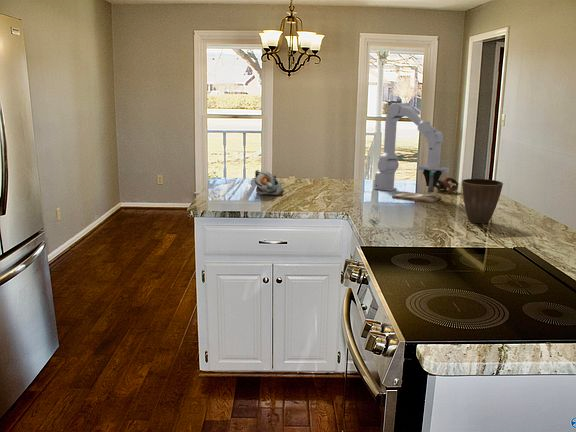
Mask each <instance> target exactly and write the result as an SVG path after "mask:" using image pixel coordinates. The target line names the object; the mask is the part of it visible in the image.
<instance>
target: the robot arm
mask: <svg viewBox="0 0 576 432" xmlns="http://www.w3.org/2000/svg"><path fill="white" fill-rule="evenodd" d="M404 117H406V118H408V119H409V120H410V121H411V122H412V123H414V124H415V125H416V126H417V130H418V131H419V132H420V134H421V135H423V137H425V139H426V143H427V159H426V165H417V166H416V170H418V171H422V174H423V176H424V179H425V184H426V187H428V183H429V172H434V188H436V185H437V184H438V183H437V182H438V180H440V177H441V175H442V174H443V173H444V174H445V173H446V174H447V173H450V168H449V167H443V166H440V163H441V150H442V143H444V141H445V135H444V132H443V131H440V130H437V129H438V128H436V127H434V126H433V125H432V124H431V122H430V121H428V120H423V119H422V118H421V116H420V115H418V113H417V112H416V111H415V110H414V108H413V106H411V105H410V103H408V102H392V103H391V104H390V105H389V106H387V114H386V116H385V120H384V121H385V125H384V138H383V139H384V141H383V142H384V143H383V153H382V154H381V155H380V156H379V158H378V159H379V160H378V162H377V169H378V171H376V172H375V175H374V187H373V189H374V190H379V191H389V192H392V191H395V190H396V189H397V187H395V173H396V171H397V170H398V169H399V160H398V155H397V154H396V152H395V151H396V137H397V122H399V120H401V119H402V118H404Z"/></svg>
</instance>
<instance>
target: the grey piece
mask: <svg viewBox="0 0 576 432" xmlns="http://www.w3.org/2000/svg"><path fill="white" fill-rule="evenodd" d="M254 174H255V176H254V179H255V180H254V184H255V186H256V188H255V193H257V194H258V195H260V196H261V195H273V196H282V195H283V194H284V193H285V190H284V188H283V187H282V184H281V182H280V181H279V180H278V179H277V176H276V175H275V174H271V173H270V172H268V171H266V170H263V171H260V170H259V169H257V170H255V173H254Z"/></svg>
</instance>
